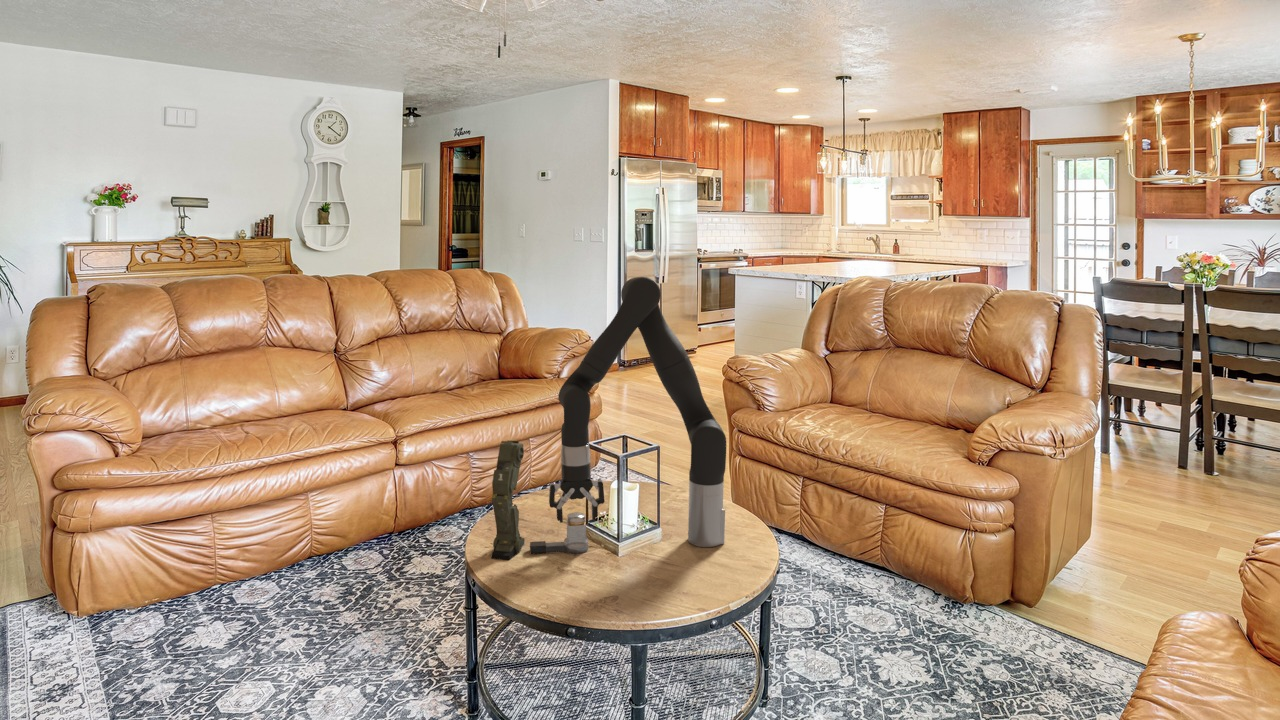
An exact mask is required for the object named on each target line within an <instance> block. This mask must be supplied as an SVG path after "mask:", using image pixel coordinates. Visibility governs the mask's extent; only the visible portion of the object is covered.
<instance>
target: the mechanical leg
mask: <svg viewBox="0 0 1280 720" xmlns="http://www.w3.org/2000/svg"><path fill="white" fill-rule="evenodd" d="M524 452H525V451H524V443H520V442H519V440H501V442H500V444H499V450H498V455H497V461H496V469H494V470H493V476H492V482H491V485H492V486H491V487H492V494H491V502H492V504H491V505H492V507H493V508H492V509H493V512H494V519H495V521H494V522H495V526H496V527H495V528H496V535H495V538H494V540H493V542H492V543H493V544H492V546H493V551H492V552H491V556H490V557H491V559H492V560H502V561H510V560H512V559H513V558H514V557H515V556H516V555H517V554H520V552H521V549H522V547H523V546H524V545H525V537H522V536H521V534H520V529H519V522H520V521H519V520H520V511H519V509H518V505H516V504H514V503H513V493H514V491H516V489H517V486H518V480H519V473H520V471H521V470H520V468H521V465H522V460H523V458H524V456H525V455H524V454H525V453H524Z"/></svg>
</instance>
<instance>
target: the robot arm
mask: <svg viewBox="0 0 1280 720" xmlns="http://www.w3.org/2000/svg"><path fill="white" fill-rule="evenodd" d="M661 293H662V292H661V288H660V286H659V284H658V283H657V282H656V281H655V279H653V278H650V277H648V276H637V277H632V278H629V279H628V280H626V281H625V283H624V284H623V286H622V289H621V293H620V295H621V301H622V302H621V304H620V307H619V309H618V310H617V312H616V314H615V315H614V317H613V319H612V320H611V322H610V323H609V324H608V326H607V327H606V328H605V329H604V330H603V331H602V333H601V334H600V335H599V336H598V337H597V338H596V340H595V341H594V342H593V343H592V345H591V346H590V348H589V350H588V351H587V353H586V354H585V355H584V356H583V359H582V360H581V362H580V364H579V365H578V367H577V368H576V369H575V370H574V371H573V372H572V373H571V374H570V375H569V376H568V378H567V379H566V380H565V381H564V383H563V384H562V386H561V387H560V389H559V392H558V395H557V396H558V397H557V398H558V402H559V404H560V405H561V407H562V408H563V423H562V425H561V435H560V436H561V437H560V438H561V448H560V461H561V463H560V464H561V465H560V467H561V470H560V471H561V481H560V483H554V482H550V483H549V492H548V496H549V497H548V504H549V507H550V508H554V509H555V510H556V519H557V521H559V523H560V524H561V523H562V524H563V522H564V520H563V516H564V515H563V506H564V505H565V504H566V503H567V501H568V500H573V501H574V500H578V499H579V500H584V499H585V498H586V500H587V501H588V502H589V503H591V519H592V520H593V521H596V519H597V518H598V516H599V512H598V510H599V509H598V508H599V505H603V504H604V503H605V491H604V489H605V488H604V482H603V480H602V479H601V478H599V479H597V480H595V481H593V480H592V476H591V474H592V473H591V471H592V470H591V449H590V436H589V435H590V433H589V432H590V431H589V422H590V418H591V417H590V416H591V407H592V406H591V405H592V404H591V398H590V393H589V392H590V391H591V390H592V389H593V387H594V386H595V385H597V384H599V383H601V382H602V381H603V379H604V378H605V376H606V375H607V373H608V372H609V370H610V369H611V367H612V366H613V364H614V363H615V361H616V359H617V358H618V356H620V353H621V351H622V350H623V349H624V347H625V346H626V344H627V342H628V340H629V339H630V337H632V335H633V334H634V332H635V331H637V330H636V329H638V330H639V332H640V334H641V337H642V339H643V342H644V344H645V348H646V351H647V352H648V354H649V357H650V359H651V362H652V364H653V367H654V369H655V371H656V374H657V375H658V377H659V379H660V382H661V384H662V385H663V388H664V389H665V391H666V393H667V394H668V395H669V398H671V400H672V401H673V403H674V404H675V406H676V407H677V409H678V410H679V413H680V416H681V418H682V420H683V423H684V427H685V429H686V432H687V435H688V440H689V443H690V449H691V450H690V469H689V471H688V473H689V480H688V481H689V482H688V522H687V528H688V529H687V540H688V541H687V542H689V544H690V545H693V546H695V547H699V548H701V547H702V548H712V547H717V546H720V545H724V544H725V536H726V535H725V531H726V529H725V527H726V509H725V508H724V486H725V485H724V483H725V482H724V481H725V479H724V478H725V473H726V465H727V462H726V461H727V438H726V437H727V436H726V434H725V432H724V430H723V428H722V426H720V424H719V423H718V421H717V420H716V418H715V417H714V415H713V414H712V412H711V410H710V409H709V406H708V405H707V403H706V401H705V399H704V396H703V393H702V389H701V386H700V383H699V379H698V375H697V374H696V370H695V367H694V365H693V363H692V361H691V360H690V357H689V355H688V353H687V351H686V350H685V348H684V346H683V344H682V343H681V342H680V340H679V339H678V336H676V334H675V333H674V331H673V330H672V329H671V327H670V326H669V325H668V323H667V321H666V319H665V317H664V314H663V313H662V310H661V308H660V305H659V303H660V300H661V295H662V294H661ZM587 443H589V444H588V445H587ZM593 487H595V489H596V490H597V493H598V494H597V495H598V498H595V497H594V496H593V494H592V493H591V492H590V491H591V490H592V488H593ZM559 489H560V490H561V491H562V493H561V495H560V498H558V500H557V501H556V500H555V499H556V498H555V497H556V493H557V492H558V491H559Z"/></svg>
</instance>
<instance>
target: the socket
mask: <svg viewBox="0 0 1280 720" xmlns="http://www.w3.org/2000/svg"><path fill="white" fill-rule="evenodd" d="M566 517H567V518H566V538H567V540H568V544H581V543H586V537H587V524H586V522H587V521H586V514H585V513H584V512H578V511H577V512H575V511H574V512H571V513H568V514H567V516H566Z"/></svg>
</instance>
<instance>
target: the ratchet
mask: <svg viewBox="0 0 1280 720" xmlns="http://www.w3.org/2000/svg"><path fill="white" fill-rule="evenodd" d="M529 550H530V552H529V553H530V555H541V554H543V555H544V554H553V553H566V554H569V555H581V554H585V553H587V552H588V551H589V538H588V537H587V536H586V543H581V544H568V540H567V537H565V538H564V540H563V541H553V542H551V541H550V542H546V541H545V540H541V541H530V542H529Z"/></svg>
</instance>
